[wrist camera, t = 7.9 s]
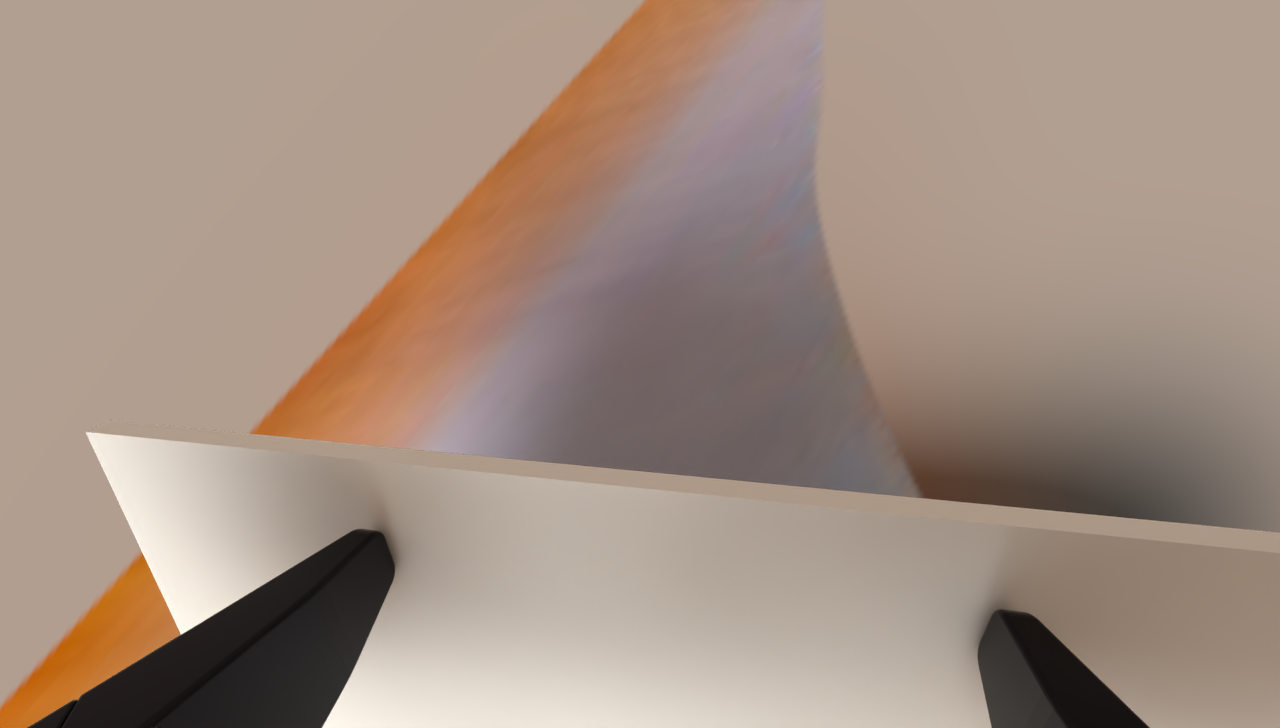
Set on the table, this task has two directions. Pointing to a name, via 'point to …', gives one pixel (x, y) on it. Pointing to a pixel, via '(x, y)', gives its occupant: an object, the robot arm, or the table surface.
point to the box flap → (696, 589)
